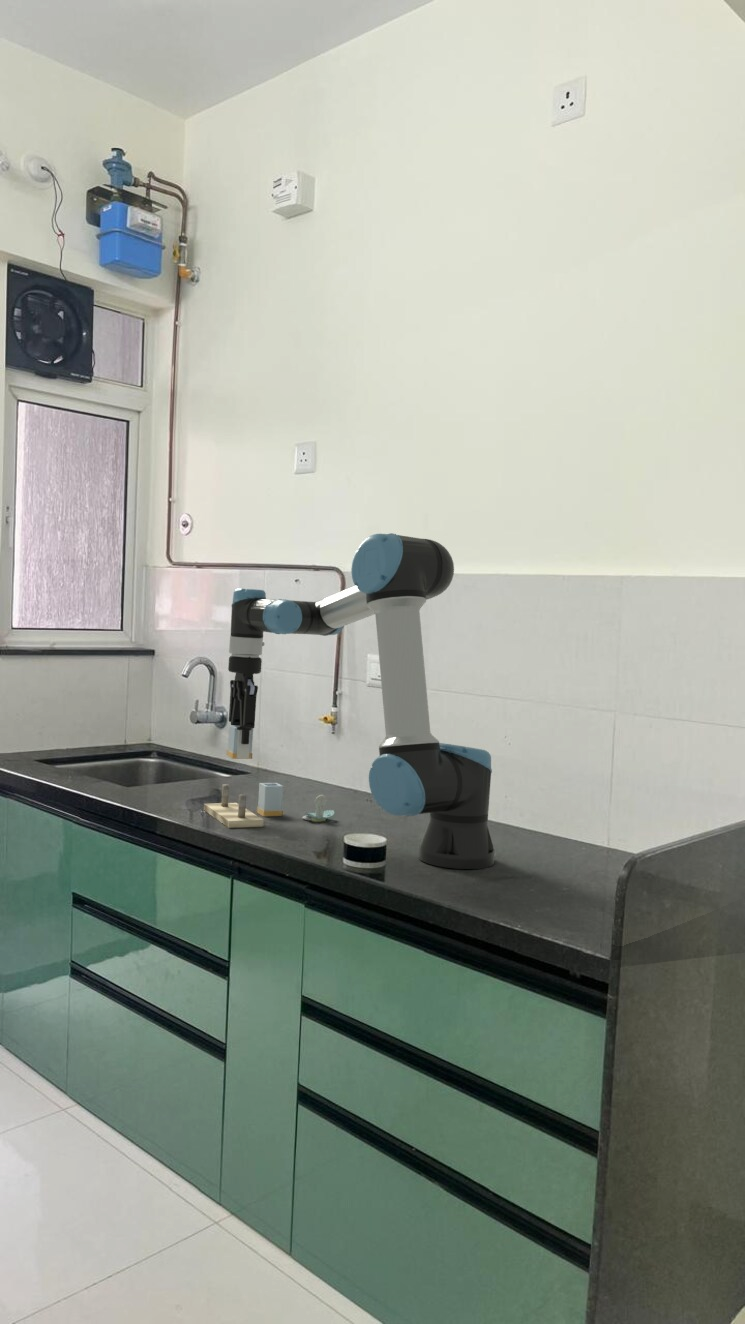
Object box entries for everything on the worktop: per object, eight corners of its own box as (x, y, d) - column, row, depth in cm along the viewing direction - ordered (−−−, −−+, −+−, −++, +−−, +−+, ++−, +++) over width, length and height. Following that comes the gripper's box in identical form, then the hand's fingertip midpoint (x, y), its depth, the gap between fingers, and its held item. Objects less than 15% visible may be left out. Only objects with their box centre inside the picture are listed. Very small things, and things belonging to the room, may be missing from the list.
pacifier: (296, 819, 235) (310, 823, 230) (297, 792, 235) (311, 796, 230) (323, 817, 239) (337, 821, 234) (324, 791, 239) (338, 794, 234)
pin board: (263, 826, 224) (264, 797, 223) (228, 827, 220) (230, 798, 220) (236, 809, 242) (237, 782, 242) (203, 809, 238) (205, 782, 238)
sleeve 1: (252, 758, 233) (254, 728, 232) (232, 758, 231) (234, 728, 230) (245, 755, 237) (248, 725, 237) (226, 754, 235) (228, 725, 235)
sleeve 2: (282, 815, 237) (284, 786, 237) (263, 816, 235) (265, 786, 235) (275, 811, 241) (277, 782, 241) (257, 812, 239) (258, 783, 239)
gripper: (273, 659, 226) (266, 762, 228) (249, 653, 242) (243, 750, 244) (241, 657, 223) (234, 762, 224) (219, 652, 239) (213, 749, 240)
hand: (239, 755), depth 234 cm, fingers closed on sleeve 1, 5 cm apart
